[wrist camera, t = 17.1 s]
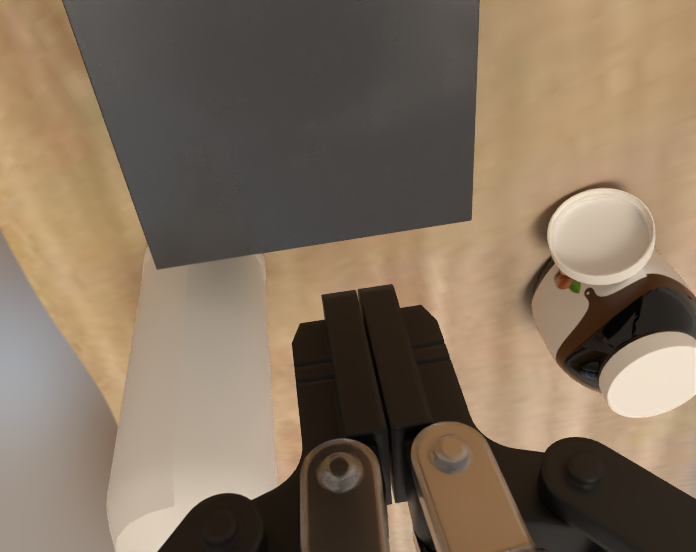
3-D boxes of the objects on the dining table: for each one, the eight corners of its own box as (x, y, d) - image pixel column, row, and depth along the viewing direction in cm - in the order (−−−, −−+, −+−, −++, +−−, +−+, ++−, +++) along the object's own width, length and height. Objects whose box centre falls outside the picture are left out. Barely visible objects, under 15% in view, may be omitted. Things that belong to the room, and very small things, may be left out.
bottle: (174, 307, 49) (124, 827, 26) (124, 223, 44) (5, 775, 20) (279, 277, 48) (324, 778, 25) (241, 188, 43) (253, 713, 20)
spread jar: (567, 330, 56) (631, 444, 47) (474, 275, 51) (526, 391, 42) (686, 231, 51) (784, 338, 42) (596, 157, 45) (686, 262, 36)
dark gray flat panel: (158, 258, 34) (156, 270, 33) (64, -14, 26) (59, -6, 25) (466, 210, 35) (471, 220, 34) (474, -69, 26) (482, -63, 26)
